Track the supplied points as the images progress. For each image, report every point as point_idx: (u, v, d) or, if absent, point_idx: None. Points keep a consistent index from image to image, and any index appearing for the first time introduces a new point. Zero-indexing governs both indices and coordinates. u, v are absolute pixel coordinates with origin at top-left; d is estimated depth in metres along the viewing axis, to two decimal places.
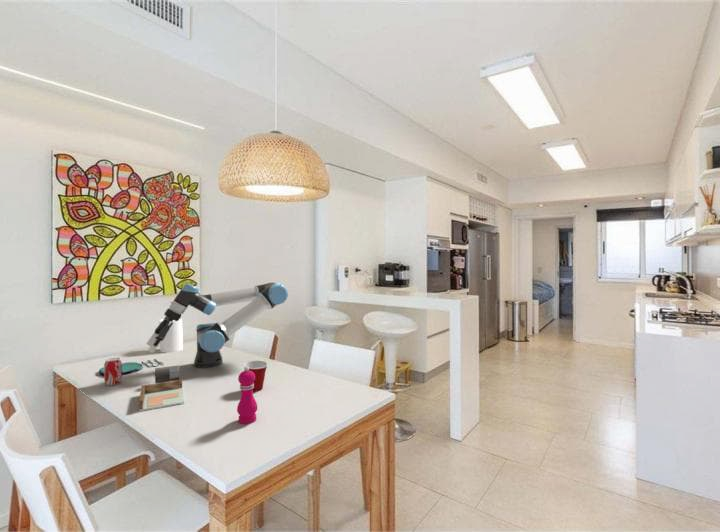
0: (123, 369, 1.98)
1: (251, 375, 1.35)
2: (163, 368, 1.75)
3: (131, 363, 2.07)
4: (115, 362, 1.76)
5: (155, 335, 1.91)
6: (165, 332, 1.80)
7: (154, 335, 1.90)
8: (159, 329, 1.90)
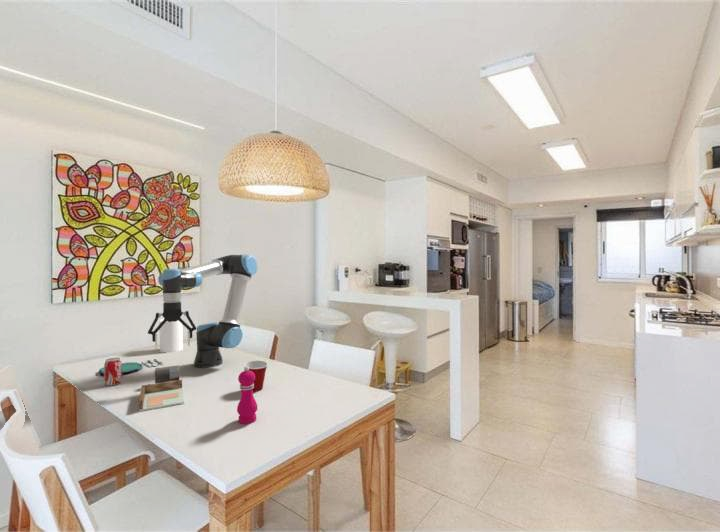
0: (123, 369, 1.98)
1: (251, 375, 1.35)
2: (163, 368, 1.75)
3: (131, 364, 2.07)
4: (115, 362, 1.76)
5: None
6: (192, 321, 1.77)
7: None
8: None
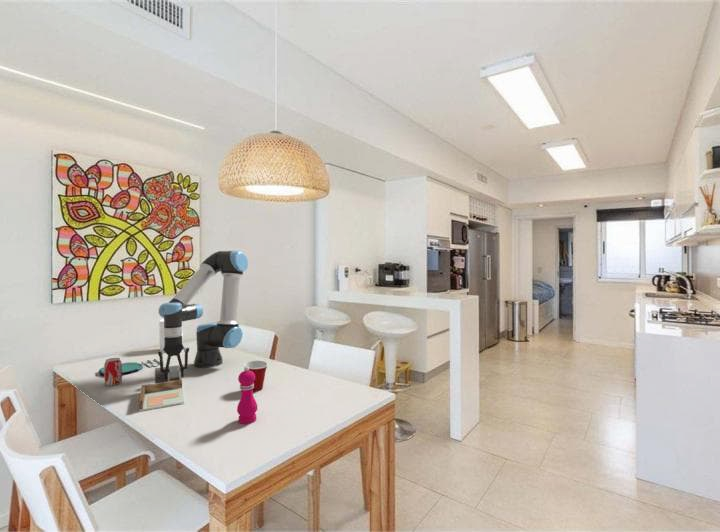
0: (123, 369, 1.98)
1: (251, 375, 1.35)
2: (163, 368, 1.75)
3: (131, 364, 2.07)
4: (115, 362, 1.76)
5: (169, 374, 1.72)
6: (187, 359, 1.76)
7: (169, 374, 1.72)
8: None
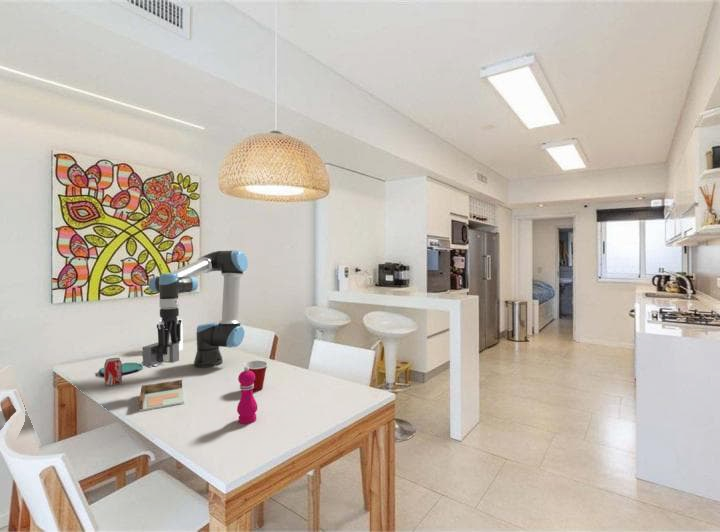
0: (123, 369, 1.98)
1: (251, 375, 1.35)
2: (153, 345, 1.61)
3: (130, 364, 2.07)
4: (115, 362, 1.76)
5: None
6: None
7: None
8: None
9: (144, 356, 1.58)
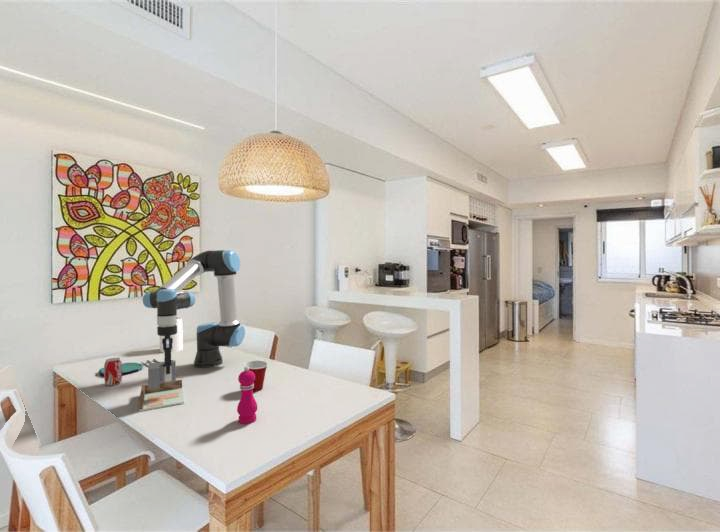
0: (123, 369, 1.98)
1: (251, 375, 1.35)
2: (154, 366, 1.52)
3: (130, 364, 2.07)
4: (115, 362, 1.76)
5: None
6: None
7: None
8: None
9: (150, 379, 1.49)
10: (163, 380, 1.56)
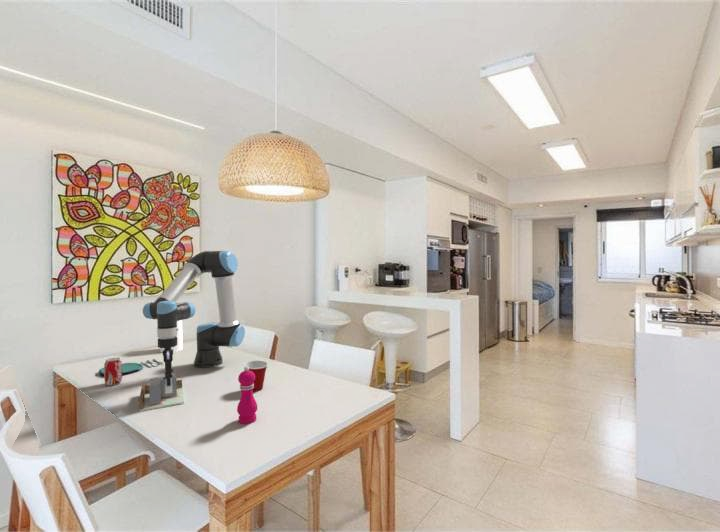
0: (123, 369, 1.98)
1: (251, 375, 1.35)
2: (155, 382, 1.53)
3: (130, 364, 2.07)
4: (115, 362, 1.76)
5: None
6: None
7: None
8: None
9: (151, 395, 1.49)
10: (164, 395, 1.56)
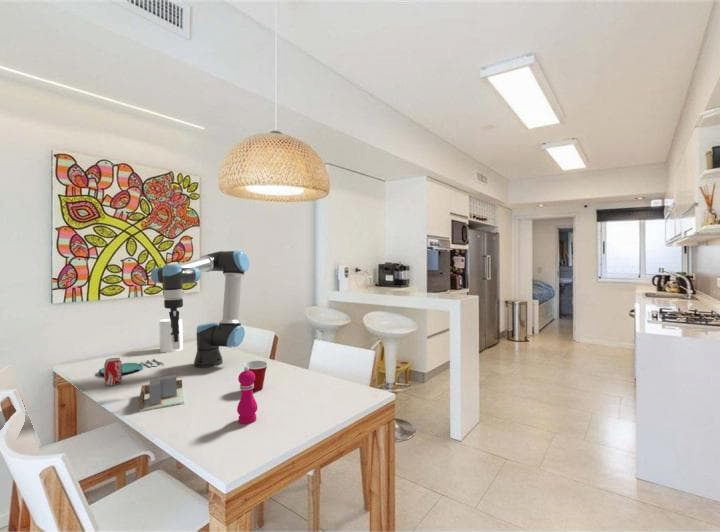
0: (123, 369, 1.97)
1: (251, 375, 1.35)
2: (155, 382, 1.53)
3: (130, 364, 2.06)
4: (115, 362, 1.76)
5: None
6: None
7: None
8: None
9: (151, 395, 1.49)
10: (164, 395, 1.56)
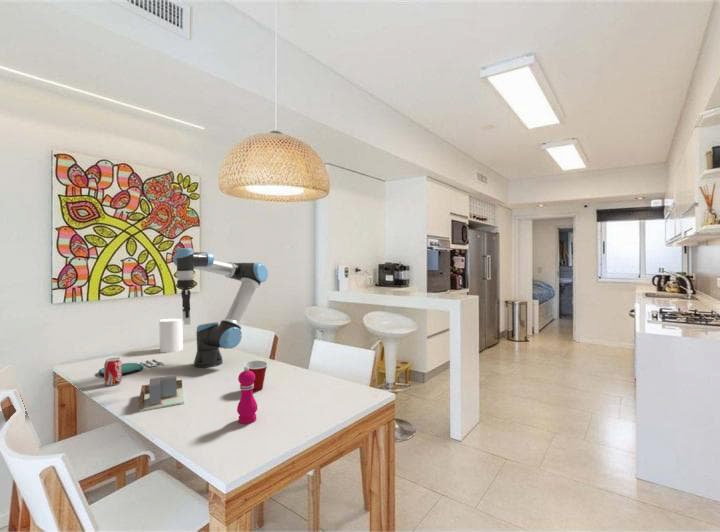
0: (123, 370, 1.97)
1: (251, 375, 1.35)
2: (155, 382, 1.53)
3: (130, 364, 2.06)
4: (115, 362, 1.76)
5: None
6: None
7: None
8: None
9: (151, 395, 1.49)
10: (164, 395, 1.56)
